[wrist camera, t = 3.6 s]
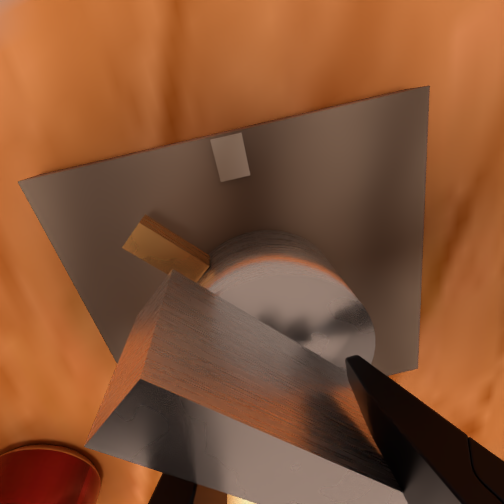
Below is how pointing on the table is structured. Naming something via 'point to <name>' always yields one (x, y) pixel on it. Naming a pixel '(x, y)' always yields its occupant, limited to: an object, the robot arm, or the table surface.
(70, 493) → the soda can
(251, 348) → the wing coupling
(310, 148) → the post base
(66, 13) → the table surface
